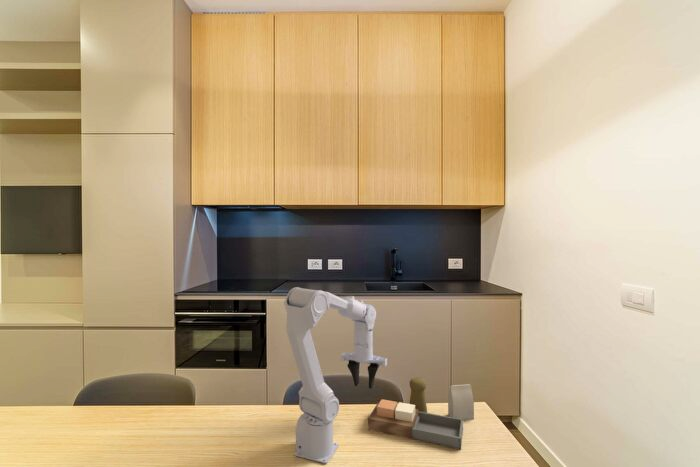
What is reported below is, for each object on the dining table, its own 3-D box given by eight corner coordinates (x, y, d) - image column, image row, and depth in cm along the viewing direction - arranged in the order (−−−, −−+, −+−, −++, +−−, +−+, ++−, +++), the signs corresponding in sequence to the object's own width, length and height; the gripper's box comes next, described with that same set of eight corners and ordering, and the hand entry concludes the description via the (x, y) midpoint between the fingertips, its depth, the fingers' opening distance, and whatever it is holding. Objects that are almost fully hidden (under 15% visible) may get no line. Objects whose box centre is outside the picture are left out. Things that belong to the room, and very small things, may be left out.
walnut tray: (368, 430, 100) (368, 418, 100) (378, 413, 110) (377, 402, 110) (412, 439, 96) (412, 426, 96) (418, 421, 105) (418, 409, 105)
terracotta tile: (377, 415, 102) (377, 406, 102) (381, 407, 107) (381, 399, 107) (393, 418, 100) (393, 409, 100) (397, 410, 105) (397, 401, 105)
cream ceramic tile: (395, 418, 100) (395, 410, 100) (399, 410, 104) (399, 402, 104) (412, 421, 98) (412, 413, 98) (415, 413, 103) (415, 405, 103)
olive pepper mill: (427, 419, 106) (427, 383, 106) (408, 417, 107) (407, 382, 107) (427, 409, 112) (427, 375, 112) (408, 407, 113) (408, 374, 113)
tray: (412, 439, 96) (412, 428, 96) (418, 421, 105) (418, 411, 105) (460, 449, 91) (460, 438, 91) (463, 429, 100) (462, 419, 100)
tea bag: (473, 419, 106) (473, 387, 106) (453, 421, 105) (453, 388, 105) (468, 413, 109) (467, 381, 109) (448, 414, 108) (447, 383, 108)
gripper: (389, 341, 107) (389, 384, 107) (346, 336, 112) (347, 377, 112) (383, 348, 100) (383, 394, 101) (338, 342, 106) (338, 386, 106)
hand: (363, 386), depth 106 cm, fingers open, 4 cm apart
